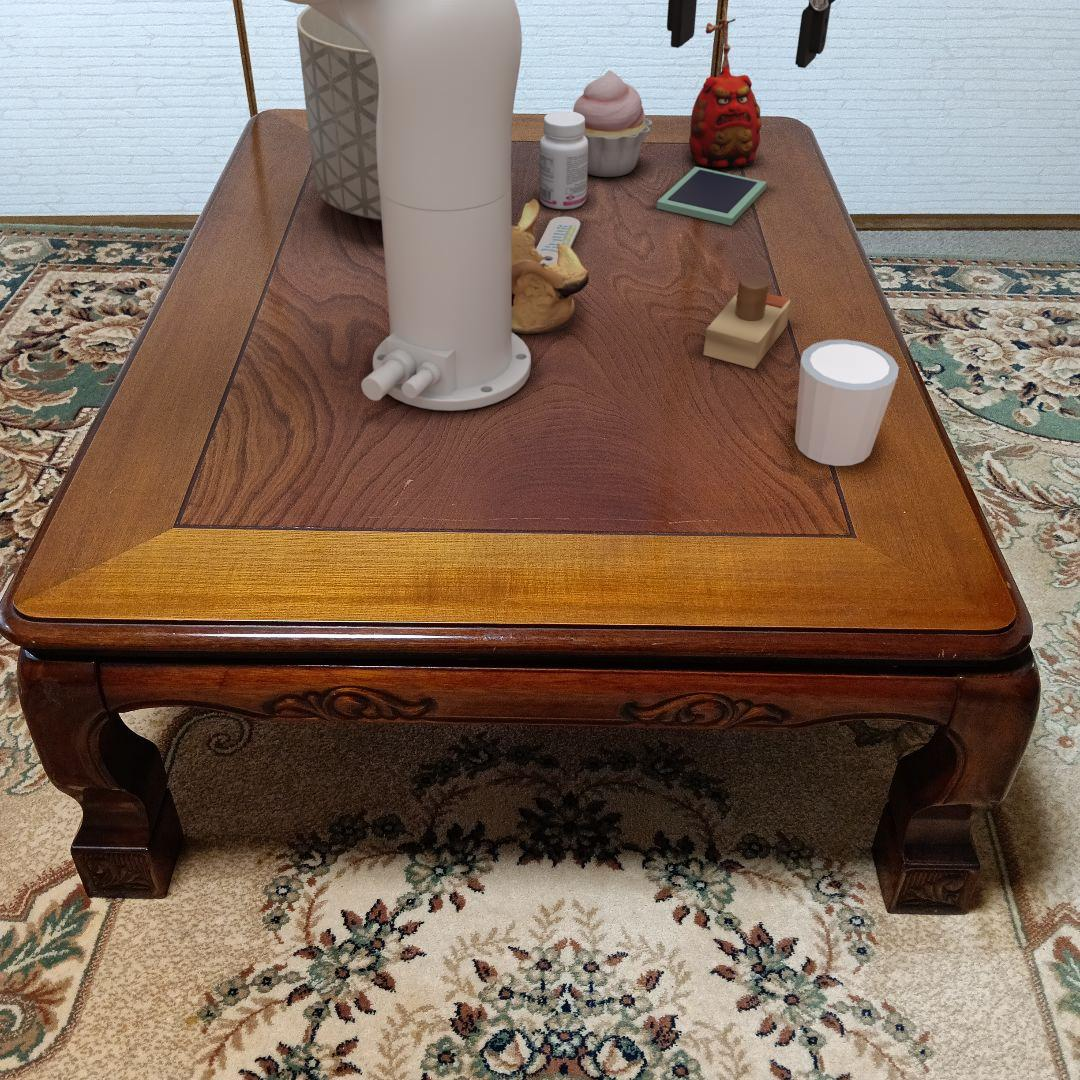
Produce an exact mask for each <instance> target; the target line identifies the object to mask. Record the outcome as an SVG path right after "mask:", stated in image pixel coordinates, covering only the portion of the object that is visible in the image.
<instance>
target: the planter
mask: <svg viewBox="0 0 1080 1080" xmlns="http://www.w3.org/2000/svg"><path fill="white" fill-rule="evenodd" d="M296 30H297V39H298V49H299V57H300V65H301V66H300V67H301V76H302V84H303V85H302V86H303V94H304V95H303V96H304V102H305V111H306V121H307V130H308V139H309V149H310V155H311V167H312V168H311V169H312V176H313V185H314V190H315V191H316V193H317V195H318V196H319V198H321V199H322V200H323V201H324V203H326V204H328V205H330V206H331V207H333V208H335V209H336V210H339V211H342V212H344V213H347V214H350V215H354V216H357V217H361V218H365V219H370V220H373V221H374V222H375V221H376V222H379V223H382V216H381V203H380V190H379V183H378V169H377V151H376V123H377V110H378V97H379V79H378V68H377V64H376V60H375V58H374V57H373V56H372V55H371V53H370V52H369V51H368V49H367V48H366V46H365V45H364V44H363V43H362V42H361V41H360V40H359V39H358V38H357V37H356V36H354V35H353V34H352V33H350V32H349V31H348V30H346V29H345V28H343V27H342V26H340V25H339V24H337V23H335V22H334V21H332V20H331V19H329V18H328V17H326V16H325V15H323V14H321V13H320V12H318V11H317V10H315V9H314V8H312V7H310V6H309V5H308V6H307V7H306V8H304V9H303V10H302V11H301V12H300V13H299V14H298V16H297V19H296Z"/></svg>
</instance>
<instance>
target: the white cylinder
mask: <svg viewBox="0 0 1080 1080" xmlns="http://www.w3.org/2000/svg"><path fill="white" fill-rule="evenodd" d="M799 362H800V365H799V377H798V391H797V392H798V393H797V405H796V421H795V433H794V442H795V445H796V447H797V449H798V451H800V452H801V454H803V455H804V456H806V458H807V459H808V458H809V459H810V460H813V461H815V462H818V463H820V464H823V465H829V466H833V467H845V466H854V465H856V464H860V463H862V462H864V461H865V460H867V458H868V457H870V456H871V453H872V451H873V447H874V445H875V442H876V439H877V437H878V433H879V431H880V428H881V426H882V422H883V419H884V417H885V414H886V411H887V408H888V405H889V402H890V399H891V397H892V394H893V391H894V388H895V385H896V383H897V380H898V376H899V369H900V367H899V365H898V363H897V362H896V360H895V358H894V357H893V356H892V355H890V354H888V352H886V351H885V350H883V349H881V348H880V347H877V346H875V345H873V344H869V343H866V342H863V341H857V340H851V339H826V340H823V341H819V342H815V343H812V344H811V345H809V347H807V348H805V350H803V352H802V354H801V358H800V361H799Z"/></svg>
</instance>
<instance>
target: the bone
mask: <svg viewBox="0 0 1080 1080" xmlns="http://www.w3.org/2000/svg"><path fill="white" fill-rule="evenodd" d="M539 214H540V204H539V202H538V200H537V199H535V198H533V199H532V200H530V201H529V202H526V203H525V204H524V206H523V210H522V212H521V217H520V220H519V221H518V223H517V226H515V225H511V290H512V295H514V296H513V300H512V301H513V305H512V333H519V334H524V335H525V334H526V335H527V334H528V335H529V334H532V335H534V334H544V333H550V332H555V331H559V330H563V329H565V328H566V327H568V326H570V324H571V325H572V323H573V321H574V319H576V318H575V316H576V309H575V308H576V305H575V300H574V298H573V296H572V295H575V294H578V293H579V292H581V291H583V290H584V288H586V287H587V286H588V283H589V280H590V278H589V277H590V276H589V275H590V272H589V271H588V270H587V269H586V268H585V266H583V265H582V263H581V261H580V258H579V256H578V255H577V253H576V252H575V251H574V250H573V248H572V247H571V248H570V247H569V246H568V245H566V244H560V243H558V246H557V248H558V260H557V264H555V265H554V264H553V263H551V264H550V265H549V266H547V265H545V263H543V264H541V261H542V260H543V259H544V257H543V256H542V255H541V254H539V253H538V251H536V246H535V241H536V239H535V236H534V234H533V233H534V232H533V231H534V227H535V224H536V222H537V220H538V218H539Z"/></svg>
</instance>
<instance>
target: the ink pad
mask: <svg viewBox="0 0 1080 1080" xmlns="http://www.w3.org/2000/svg"><path fill="white" fill-rule="evenodd" d="M767 184H768V183H767V181H763V180H760V179H756V178H755V179H754V178H751V177H745V176H742V175H736V174H731V173H727V172H722V171H718V170H713V169H709V168H704V167H699V166H694V167H693V168H692V169H691V170H690V171H689V172H687V174H685V175H684V176H683V177H682V178H681V179H680V180H678V181H677V182H676V183H675V185H673V186H672V187H671V188H670V189H669V190H668V191H667V192H665V193H664V194H663V195H662V196H661V197H660V198H659V199H657V201H656V209H658V210H662V211H666V212H671V213H673V214H674V213H675V214H678V215H682V216H687V217H692V218H695V219H700V220H705V221H709V222H712V223H717V224H722V225H726V226H731V227H732V226H733V224H734V223H736V221H738V219H739V218H740V217H741V216H742V215H743V214H744V213H745V212H746V211H747V210H748V209H749V208H750V207H751V206H752V204H754V202H756V200H757V199H758V198H759V197H760V196H761V195H763V193H764V192H765V191H766V190H767Z"/></svg>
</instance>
